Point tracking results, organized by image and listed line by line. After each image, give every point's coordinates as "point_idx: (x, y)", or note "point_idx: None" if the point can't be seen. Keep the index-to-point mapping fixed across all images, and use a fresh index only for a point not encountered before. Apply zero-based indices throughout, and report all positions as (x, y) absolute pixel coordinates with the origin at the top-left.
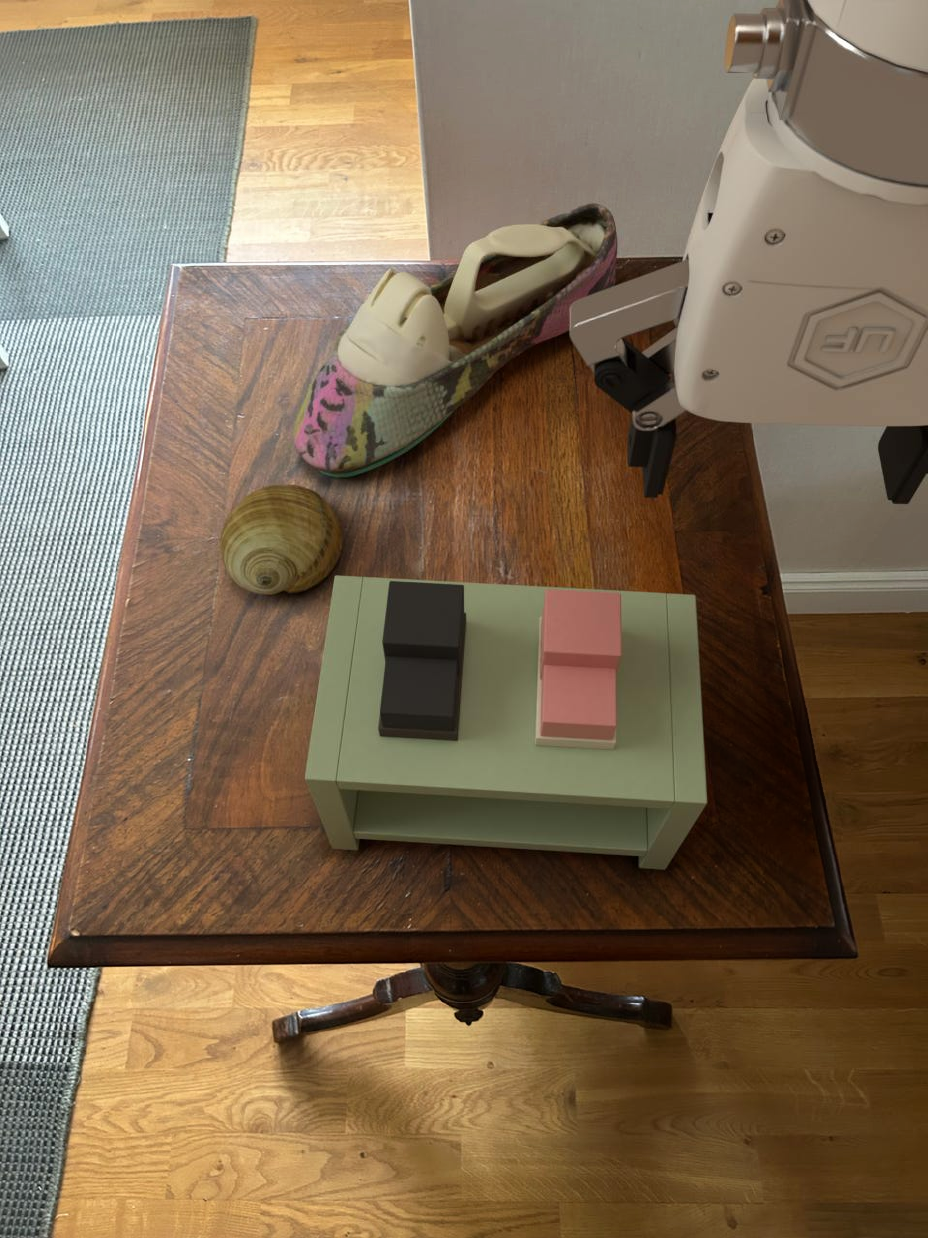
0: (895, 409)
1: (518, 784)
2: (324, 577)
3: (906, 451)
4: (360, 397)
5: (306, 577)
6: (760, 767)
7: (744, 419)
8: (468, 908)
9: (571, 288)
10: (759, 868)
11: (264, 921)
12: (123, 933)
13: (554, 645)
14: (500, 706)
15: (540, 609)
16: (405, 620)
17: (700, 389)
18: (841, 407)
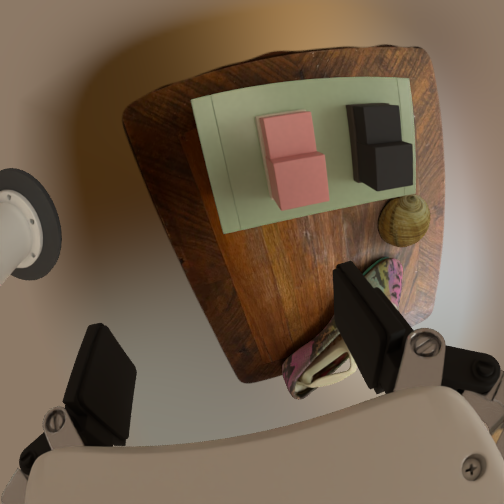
0: (102, 487)
1: (306, 83)
2: (383, 209)
3: (101, 380)
4: (387, 293)
5: (394, 205)
6: (163, 169)
7: (359, 419)
8: (289, 64)
9: (304, 367)
10: (154, 119)
11: (370, 51)
12: (413, 48)
13: (319, 160)
14: (326, 130)
15: None
16: (403, 160)
17: (468, 434)
18: (189, 494)
